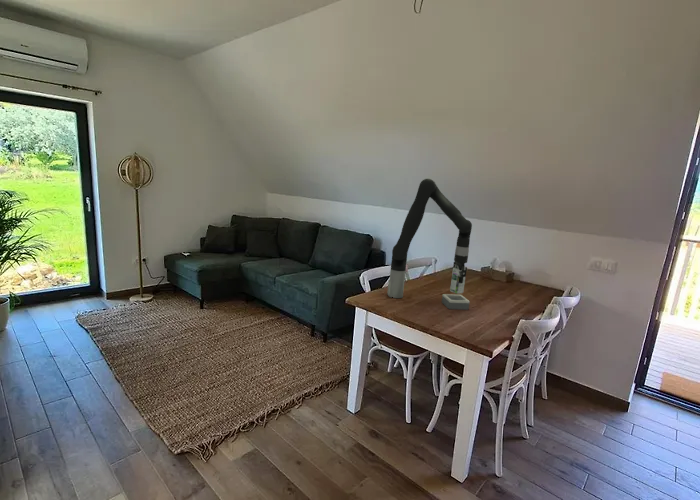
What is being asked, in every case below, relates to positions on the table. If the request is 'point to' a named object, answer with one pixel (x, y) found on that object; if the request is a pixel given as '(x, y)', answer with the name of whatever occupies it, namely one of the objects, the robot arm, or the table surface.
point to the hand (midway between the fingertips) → (457, 281)
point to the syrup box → (456, 282)
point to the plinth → (455, 301)
